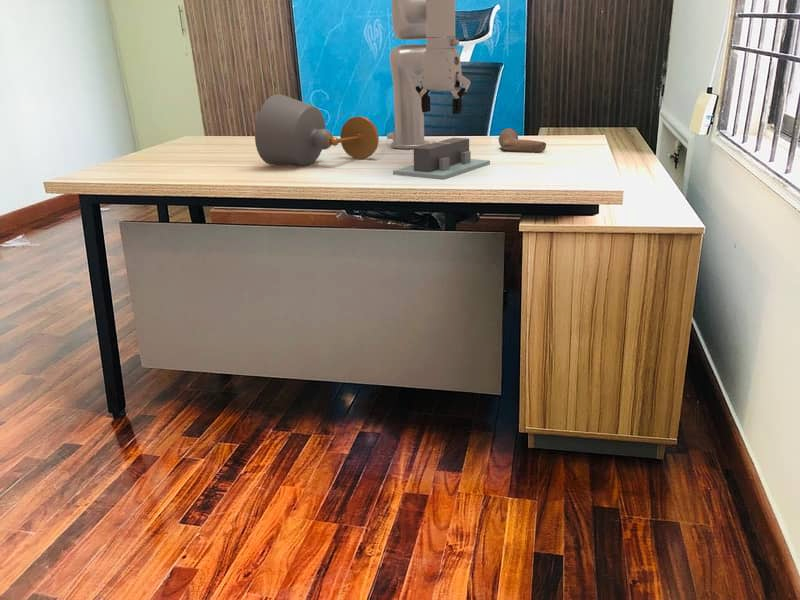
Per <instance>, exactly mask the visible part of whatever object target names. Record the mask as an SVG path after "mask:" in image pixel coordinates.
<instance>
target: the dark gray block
mask: <svg viewBox="0 0 800 600" xmlns="http://www.w3.org/2000/svg"><path fill="white" fill-rule="evenodd" d="M412 151H413V165H414V171H421V172H433V171H436V170H439V159H442V158H449V166H452V165H455V164H459V163H461V153H463V152H466V151H470V138H467V137H465V138H464V137H452V138H447V139H443V140H439V141H434V142H432V143H429V144H427V145H423V146H419V147H415V148H413V150H412Z"/></svg>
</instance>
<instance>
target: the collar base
mask: <svg viewBox="0 0 800 600" xmlns="http://www.w3.org/2000/svg"><path fill="white" fill-rule="evenodd" d="M471 156H472V155H471V151H470V150H469V151H466V152H463V153H461V163H459V164H455V165H452V166H449V158H442V159H439V170H436V171H433V172H421V171H414V164H412V165H409V166H405V167H401V168H397V169H394V170H392V175H395V174H397V175H398V176H407V177H414V178H415V177H417V178H427V179H437V180H446V179H448V178H453V177H455V176H459V175H461V174H464V173H467V172H470V171H473V170H476V169H480V168H482V167H486V166H488V165H490V164H491V160H489V159H474V158H471ZM397 175H396V176H397Z"/></svg>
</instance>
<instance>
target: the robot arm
mask: <svg viewBox="0 0 800 600" xmlns="http://www.w3.org/2000/svg"><path fill="white" fill-rule="evenodd" d="M391 19H392V32H393V34H394V37H395V38H396V39H398V40H403V41H415V40H417V41H419V40H425V43H423V44H422V43H419V44H415V43H414V44H400V45H397V46H394V47H393V48H392V49H391V51H390V53H389V65H390V71H391V77H392V84H393V87H392V88H393V104H394V105H393V106H394V107H393V109H394V113H393V114H394V131H393V132H389V133H388V134H387V135H386V139H387V140H392V142H391V143H390V147H391V148H393V149H400V150H402V149H403V150H410V149H411V150H412V149H413V148H415V147H419V146H423V145H427V144H430V142H429V140H425V122H424V121H425V118H424V117H425V116H424V115H425V114H424V113H428V112H431V96H430V95H429V94H430V93H431V92H432V91H436V92H437V91H441V92H447V91H448V92H450V93H451V94H452V97H454V98H452V114H453V115H459V114H461V112H462V108H463V105H462V104H463V102H462V101H463V98H464V96H465V94H466V93H467V92H468V91H469V90H468V89H469V88H470V86H471V83H472V82H471V80H470V79H468V78H467V77H466V76H464V75H463V73H462V63H461V57H460V51H459V49H456V46H459V45H460V40H459V39H457V37H456V0H391Z"/></svg>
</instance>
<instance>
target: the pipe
mask: <svg viewBox="0 0 800 600" xmlns="http://www.w3.org/2000/svg"><path fill="white" fill-rule="evenodd" d="M498 144H499V145H500V146H499V147H501V149H502V150H503V151H506V152H516V153H533V152H534V153H533V154H535V153H537V154H538V153H539V154H541V153H540V152H542V153H544V151H545V150H546V146H547V143H546V142H545V141H540V140H531V139H519V135H518V133H517V131H516V130H515V129H513V128H511V127H509V128H505V129H503V130H501V132H500V133H499V137H498Z"/></svg>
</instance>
